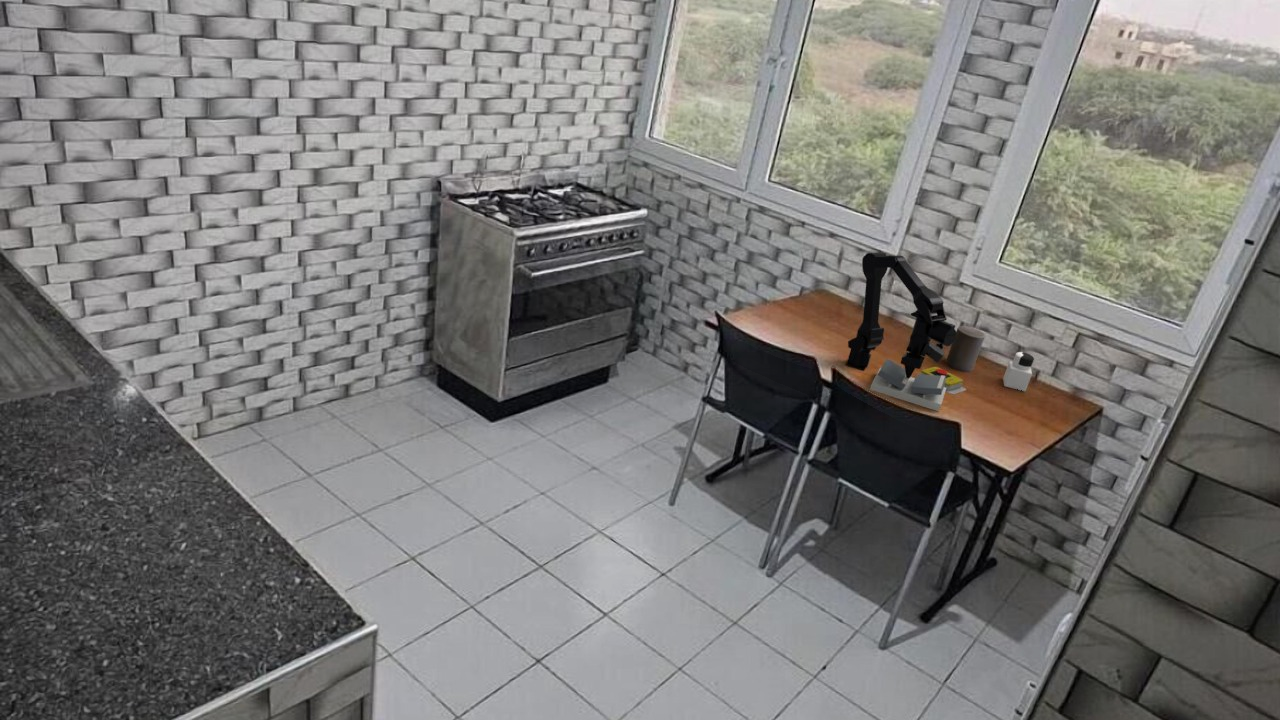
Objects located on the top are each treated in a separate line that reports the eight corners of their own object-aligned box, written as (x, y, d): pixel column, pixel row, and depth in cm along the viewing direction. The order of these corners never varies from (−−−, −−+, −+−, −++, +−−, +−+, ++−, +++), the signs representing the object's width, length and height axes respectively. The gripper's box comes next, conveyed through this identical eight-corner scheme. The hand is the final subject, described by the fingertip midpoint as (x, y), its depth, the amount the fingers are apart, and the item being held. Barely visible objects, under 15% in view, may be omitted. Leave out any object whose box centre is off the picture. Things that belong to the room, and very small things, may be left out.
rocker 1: (877, 374, 270) (881, 369, 269) (884, 362, 280) (887, 357, 279) (902, 390, 268) (906, 384, 267) (908, 377, 278) (911, 372, 277)
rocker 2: (911, 392, 267) (911, 386, 266) (916, 379, 277) (916, 373, 276) (941, 394, 263) (941, 388, 262) (945, 381, 273) (945, 375, 273)
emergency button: (933, 361, 293) (971, 379, 282) (929, 372, 294) (967, 391, 284) (918, 365, 287) (955, 384, 277) (914, 376, 289) (951, 396, 279)
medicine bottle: (1023, 384, 296) (1035, 353, 292) (1025, 392, 290) (1037, 360, 285) (1002, 378, 298) (1014, 348, 293) (1003, 386, 292) (1015, 355, 287)
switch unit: (870, 389, 272) (873, 379, 270) (878, 374, 285) (881, 364, 283) (938, 411, 265) (942, 400, 263) (944, 394, 277) (947, 384, 276)
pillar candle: (943, 366, 301) (957, 328, 294) (947, 357, 309) (960, 320, 303) (971, 374, 297) (985, 336, 291) (974, 365, 306) (988, 328, 299)
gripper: (944, 349, 255) (929, 395, 261) (950, 332, 271) (936, 375, 277) (907, 339, 259) (893, 384, 265) (915, 322, 275) (903, 365, 281)
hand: (908, 377), depth 272 cm, fingers closed, pressing on rocker 1
